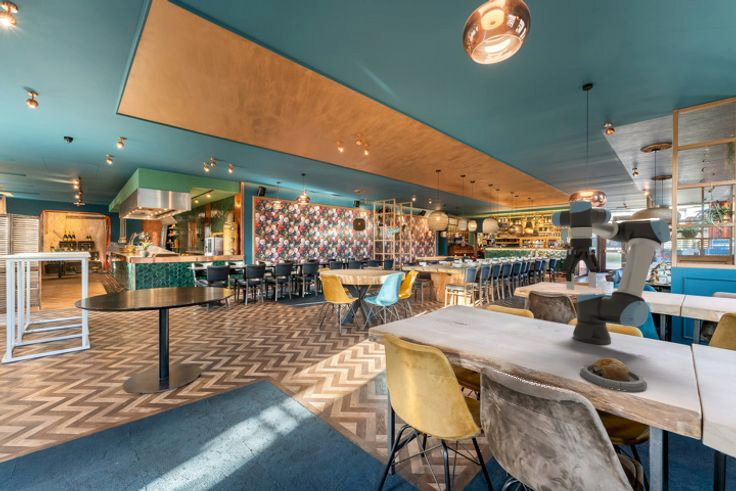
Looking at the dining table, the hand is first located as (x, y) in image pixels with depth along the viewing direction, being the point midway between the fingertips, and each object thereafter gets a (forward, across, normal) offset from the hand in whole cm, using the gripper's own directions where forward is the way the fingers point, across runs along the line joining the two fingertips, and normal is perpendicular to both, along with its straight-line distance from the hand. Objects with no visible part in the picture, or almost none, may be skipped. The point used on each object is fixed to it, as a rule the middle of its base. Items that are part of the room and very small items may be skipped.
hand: (581, 288), depth 126 cm
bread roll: (+28, +12, +18) cm, 35 cm away
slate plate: (+29, +12, +18) cm, 36 cm away
